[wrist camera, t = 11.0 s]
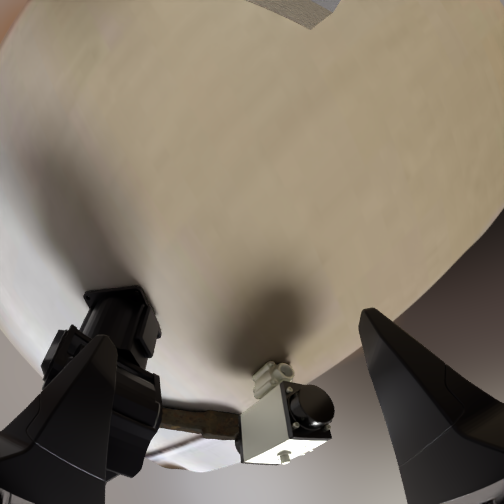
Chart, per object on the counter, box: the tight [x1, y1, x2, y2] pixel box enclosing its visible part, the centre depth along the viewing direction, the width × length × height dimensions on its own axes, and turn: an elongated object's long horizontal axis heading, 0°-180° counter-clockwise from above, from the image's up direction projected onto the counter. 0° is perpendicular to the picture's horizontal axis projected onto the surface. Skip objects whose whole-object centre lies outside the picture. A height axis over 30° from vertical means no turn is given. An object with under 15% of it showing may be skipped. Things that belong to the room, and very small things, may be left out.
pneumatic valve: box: [235, 361, 335, 465], centre depth 26 cm, size 6×12×12 cm, turn 149°
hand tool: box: [159, 407, 239, 440], centre depth 34 cm, size 19×4×5 cm, turn 75°
